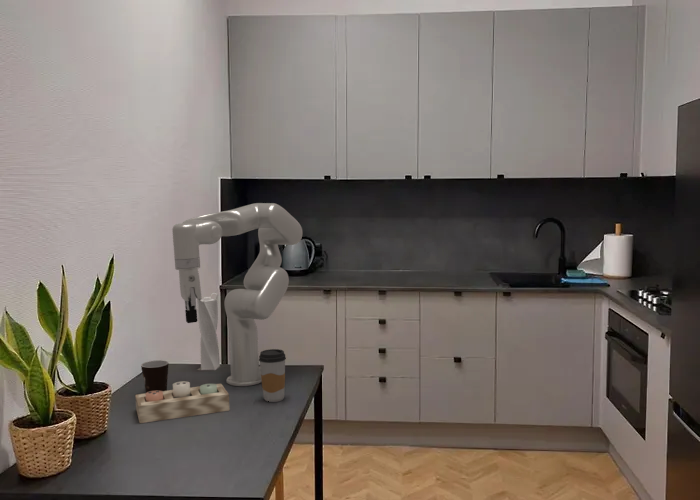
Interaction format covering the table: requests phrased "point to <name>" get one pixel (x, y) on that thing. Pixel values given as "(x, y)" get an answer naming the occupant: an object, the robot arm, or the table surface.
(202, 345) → the skyscraper
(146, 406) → the beige long block
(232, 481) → the table surface
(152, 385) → the coffee mug
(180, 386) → the button cream
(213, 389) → the button sage
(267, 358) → the coffee cup
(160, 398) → the pink rounded cylinder
